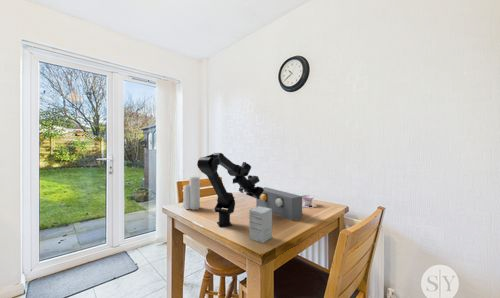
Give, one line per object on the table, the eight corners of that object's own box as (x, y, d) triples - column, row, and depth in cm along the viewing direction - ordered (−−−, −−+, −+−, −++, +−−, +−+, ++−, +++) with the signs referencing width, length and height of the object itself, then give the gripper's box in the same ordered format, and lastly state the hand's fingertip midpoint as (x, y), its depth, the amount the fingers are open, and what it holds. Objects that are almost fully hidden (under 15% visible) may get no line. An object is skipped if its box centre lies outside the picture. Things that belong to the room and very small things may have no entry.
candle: (201, 207, 140) (201, 176, 140) (197, 210, 133) (196, 178, 133) (185, 206, 142) (185, 176, 142) (180, 209, 135) (179, 177, 135)
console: (291, 220, 114) (291, 198, 114) (256, 206, 140) (256, 188, 140) (302, 217, 119) (302, 196, 119) (265, 204, 145) (265, 187, 145)
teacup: (301, 202, 151) (301, 193, 151) (319, 204, 145) (319, 195, 145) (296, 206, 141) (296, 197, 141) (314, 209, 135) (314, 199, 135)
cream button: (280, 207, 119) (280, 199, 119) (275, 205, 122) (275, 197, 122) (283, 206, 120) (283, 199, 120) (277, 205, 123) (277, 197, 123)
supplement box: (259, 233, 98) (259, 205, 98) (272, 237, 93) (272, 208, 93) (248, 238, 92) (248, 209, 92) (262, 243, 87) (262, 212, 87)
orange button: (264, 202, 130) (264, 194, 130) (260, 200, 134) (260, 193, 134) (267, 201, 131) (267, 194, 131) (262, 200, 135) (262, 193, 135)
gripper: (261, 173, 119) (276, 190, 126) (242, 170, 135) (257, 185, 141) (249, 189, 115) (265, 206, 121) (232, 184, 130) (247, 199, 137)
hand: (258, 198), depth 130 cm, fingers closed
